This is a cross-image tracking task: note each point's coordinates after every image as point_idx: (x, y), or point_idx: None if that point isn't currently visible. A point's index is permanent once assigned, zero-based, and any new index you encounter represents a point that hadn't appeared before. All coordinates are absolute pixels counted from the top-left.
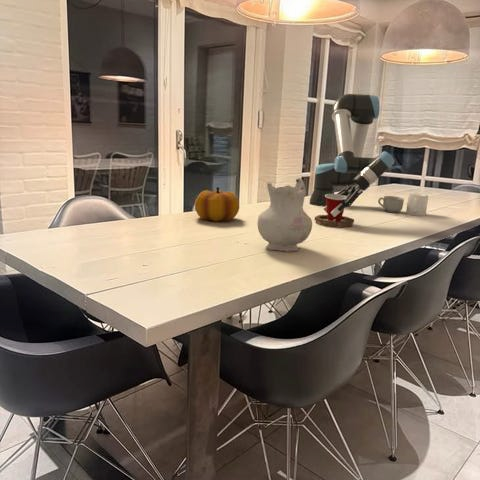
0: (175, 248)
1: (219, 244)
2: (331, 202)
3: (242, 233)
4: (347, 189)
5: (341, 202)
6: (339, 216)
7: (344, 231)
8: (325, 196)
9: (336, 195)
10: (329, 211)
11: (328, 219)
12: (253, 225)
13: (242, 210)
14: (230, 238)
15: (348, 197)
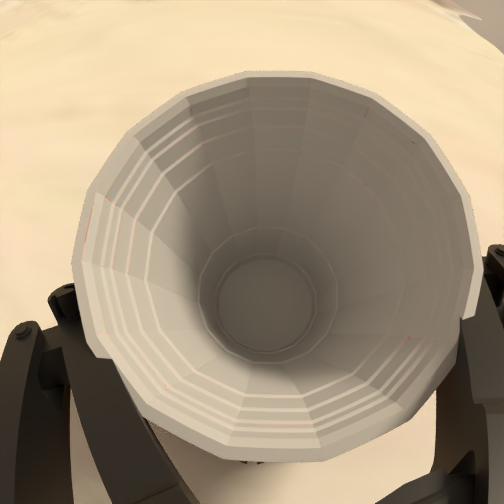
0: (12, 4)
1: (6, 25)
2: (168, 176)
3: (68, 15)
4: (482, 480)
5: (124, 301)
6: (208, 328)
7: (38, 319)
8: (243, 74)
9: (456, 260)
10: (220, 221)
11: (250, 252)
12: (161, 6)
13: (412, 11)
14: (35, 18)
15: (82, 413)
